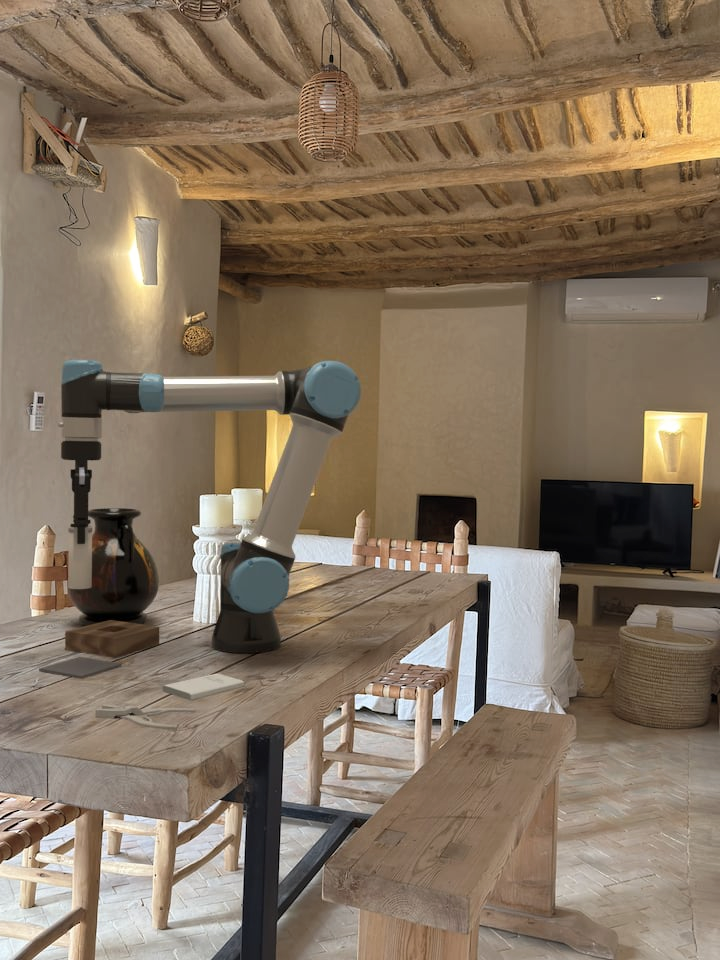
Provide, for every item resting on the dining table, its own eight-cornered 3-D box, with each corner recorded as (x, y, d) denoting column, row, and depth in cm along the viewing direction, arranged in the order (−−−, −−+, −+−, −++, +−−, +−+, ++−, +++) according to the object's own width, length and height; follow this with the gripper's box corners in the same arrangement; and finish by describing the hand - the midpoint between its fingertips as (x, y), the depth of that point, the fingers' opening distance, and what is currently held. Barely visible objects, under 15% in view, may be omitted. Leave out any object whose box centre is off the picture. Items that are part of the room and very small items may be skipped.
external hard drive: (162, 693, 164) (215, 680, 174) (190, 702, 159) (244, 688, 168) (162, 684, 164) (215, 672, 174) (190, 693, 159) (244, 680, 168)
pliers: (176, 721, 143) (86, 715, 145) (175, 731, 143) (86, 725, 145) (195, 703, 153) (111, 698, 155) (195, 712, 153) (111, 707, 155)
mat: (121, 665, 181) (121, 663, 181) (81, 678, 171) (81, 676, 171) (80, 659, 186) (80, 656, 186) (39, 671, 176) (39, 668, 176)
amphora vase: (174, 627, 219) (174, 511, 217) (87, 638, 205) (88, 515, 204) (135, 612, 236) (136, 505, 234) (53, 622, 222) (53, 508, 221)
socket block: (159, 644, 200) (159, 626, 200) (115, 657, 188) (115, 638, 188) (110, 637, 207) (110, 619, 206) (65, 649, 194) (65, 631, 194)
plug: (96, 586, 179) (97, 526, 179) (80, 589, 175) (80, 528, 175) (79, 584, 181) (80, 524, 181) (62, 587, 177) (63, 526, 177)
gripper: (61, 439, 184) (60, 553, 185) (61, 439, 167) (60, 565, 168) (99, 439, 186) (98, 552, 187) (103, 440, 170) (102, 564, 171)
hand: (80, 558), depth 178 cm, fingers closed on plug, 4 cm apart
